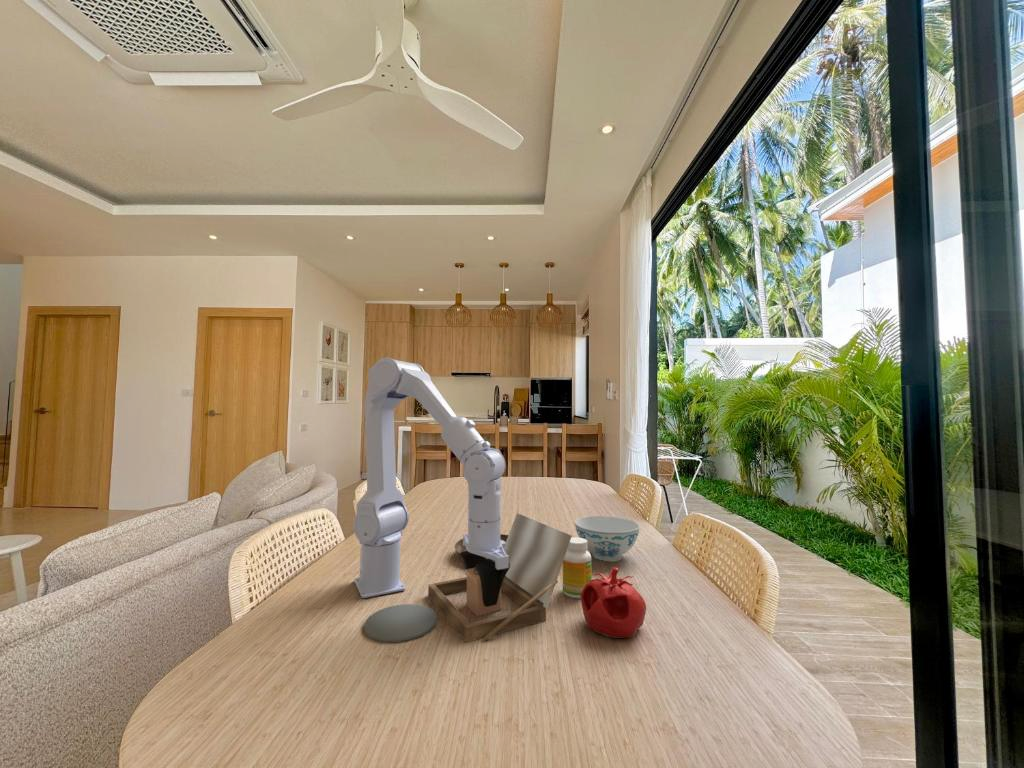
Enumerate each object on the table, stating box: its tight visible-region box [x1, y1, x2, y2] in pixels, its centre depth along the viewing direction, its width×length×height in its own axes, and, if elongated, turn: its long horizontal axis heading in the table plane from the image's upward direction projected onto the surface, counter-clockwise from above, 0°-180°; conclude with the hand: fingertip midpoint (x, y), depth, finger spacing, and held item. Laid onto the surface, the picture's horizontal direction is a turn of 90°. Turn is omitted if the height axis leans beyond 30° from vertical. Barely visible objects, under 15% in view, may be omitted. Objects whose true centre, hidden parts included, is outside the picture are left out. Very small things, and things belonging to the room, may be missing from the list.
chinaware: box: [574, 515, 641, 562], centre depth 99 cm, size 15×15×8 cm
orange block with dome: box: [464, 568, 502, 616], centre depth 73 cm, size 5×5×6 cm
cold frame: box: [427, 512, 573, 643], centre depth 74 cm, size 19×19×13 cm
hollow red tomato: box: [580, 566, 647, 639], centre depth 66 cm, size 10×10×9 cm
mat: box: [364, 603, 437, 643], centre depth 67 cm, size 11×11×1 cm
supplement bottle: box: [562, 536, 592, 599], centre depth 79 cm, size 5×5×10 cm
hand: (483, 598), depth 73 cm, fingers closed on orange block with dome, 5 cm apart
